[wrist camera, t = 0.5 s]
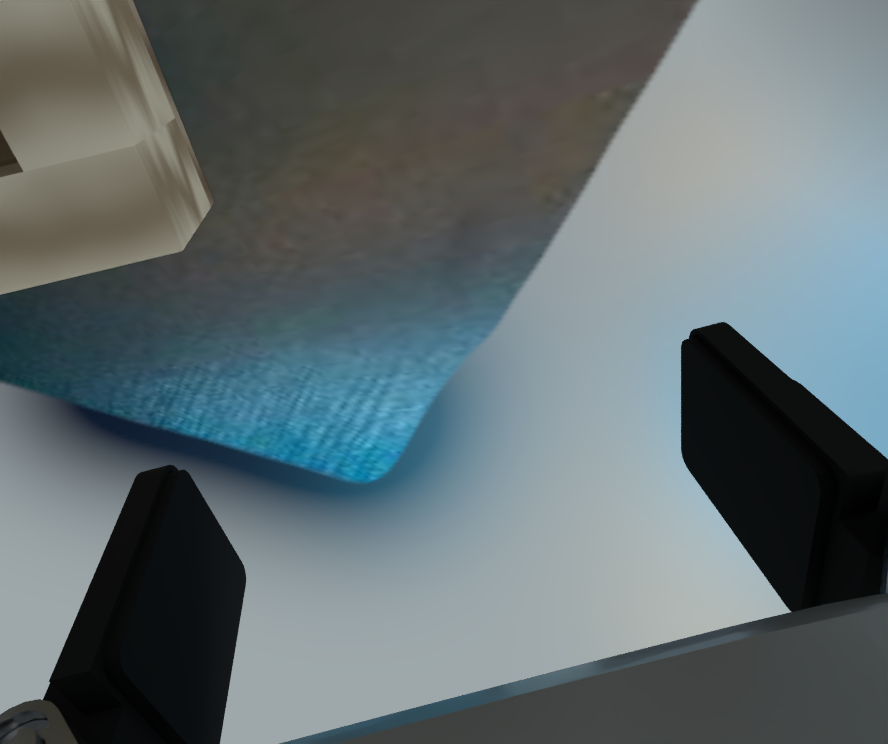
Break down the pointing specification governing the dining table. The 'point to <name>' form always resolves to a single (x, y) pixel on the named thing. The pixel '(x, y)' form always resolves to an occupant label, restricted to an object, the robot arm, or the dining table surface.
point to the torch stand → (88, 145)
